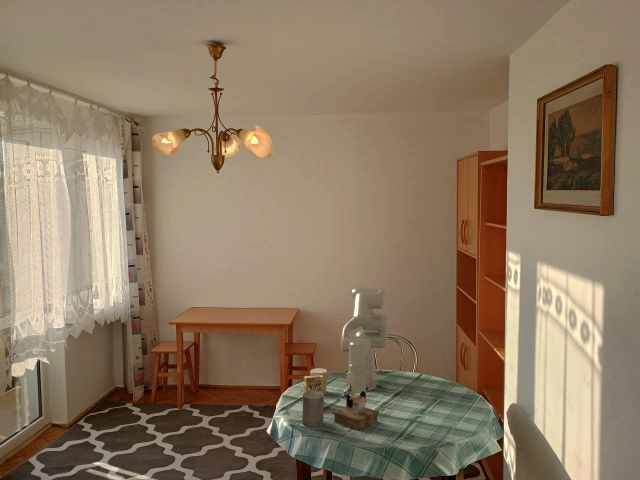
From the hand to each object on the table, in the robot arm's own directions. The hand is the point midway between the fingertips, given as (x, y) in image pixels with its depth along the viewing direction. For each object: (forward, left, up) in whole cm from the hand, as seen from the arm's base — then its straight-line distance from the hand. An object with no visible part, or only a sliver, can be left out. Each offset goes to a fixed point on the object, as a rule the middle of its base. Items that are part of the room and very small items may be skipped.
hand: (356, 404), depth 267 cm
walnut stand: (0, 0, -8) cm, 8 cm away
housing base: (0, 0, -3) cm, 3 cm away
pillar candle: (+15, -13, -9) cm, 22 cm away
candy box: (-1, -28, -9) cm, 29 cm away
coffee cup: (-18, -40, -9) cm, 44 cm away
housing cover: (0, 0, +2) cm, 2 cm away
